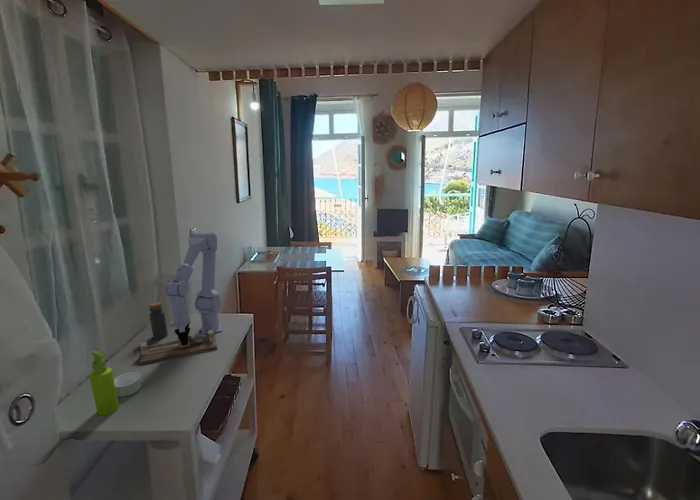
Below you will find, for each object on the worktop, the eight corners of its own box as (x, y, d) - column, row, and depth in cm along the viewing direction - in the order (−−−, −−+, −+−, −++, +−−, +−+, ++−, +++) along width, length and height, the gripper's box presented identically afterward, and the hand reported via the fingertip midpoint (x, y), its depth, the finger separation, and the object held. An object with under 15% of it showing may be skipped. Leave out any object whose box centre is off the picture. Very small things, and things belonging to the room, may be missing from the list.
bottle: (170, 334, 178) (165, 302, 175) (158, 340, 173) (152, 307, 170) (162, 331, 181) (157, 300, 178) (150, 337, 177) (144, 304, 173)
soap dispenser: (105, 419, 122) (92, 358, 117) (93, 412, 125) (80, 353, 121) (124, 408, 127) (113, 349, 122) (112, 402, 130) (101, 345, 125)
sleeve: (179, 343, 165) (177, 333, 164) (189, 341, 167) (188, 331, 166) (179, 348, 162) (177, 337, 160) (189, 346, 163) (188, 335, 162)
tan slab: (142, 350, 165) (140, 338, 164) (215, 336, 175) (213, 325, 173) (139, 364, 153) (137, 352, 152) (217, 349, 163) (215, 337, 162)
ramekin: (126, 400, 131) (124, 388, 130) (106, 396, 134) (104, 384, 133) (148, 385, 139) (146, 374, 138) (128, 381, 142) (126, 370, 141)
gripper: (169, 306, 166) (174, 336, 169) (168, 318, 153) (173, 351, 156) (188, 303, 168) (192, 333, 172) (188, 315, 155) (193, 347, 158)
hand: (184, 341), depth 164 cm, fingers open, 5 cm apart
